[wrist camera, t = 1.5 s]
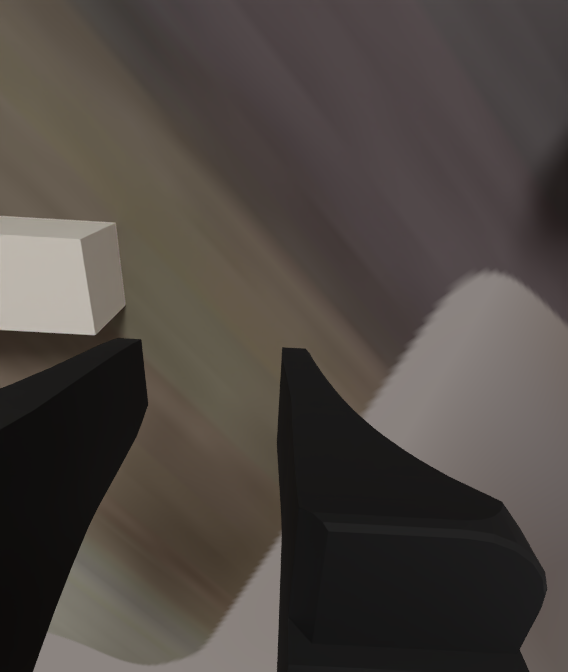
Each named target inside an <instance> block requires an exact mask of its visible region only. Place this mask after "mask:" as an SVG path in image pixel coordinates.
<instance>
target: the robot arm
mask: <svg viewBox="0 0 568 672" xmlns="http://www.w3.org/2000/svg"><path fill="white" fill-rule="evenodd" d="M147 406H148V398H147V389H146V380H145V370H144V361H143V352H142V342H141V339H124V338H117V339H114V340H111V341H108V342H106V343H103V344H101V345H99V346H96V347H94V348H92V349H90V350H88V351H85V352H83V353H81V354H79V355H77V356H75V357H73V358H70V359H68V360H66V361H64V362H62V363H60V364H58V365H55V366H53V367H51V368H49V369H46V370H44V371H42V372H39V373H37V374H35V375H32V376H30V377H28V378H25V379H23V380H21V381H18V382H16V383H13V384H11V385H8V386H6V387H3V388H1V389H0V672H33V670H34V667H35V664H36V661H37V658H38V656H39V653H40V650H41V647H42V645H43V642H44V639H45V636H46V633H47V631H48V628H49V625H50V622H51V620H52V617H53V614H54V611H55V609H56V606H57V604H58V601H59V598H60V596H61V593H62V591H63V588H64V586H65V583H66V580H67V578H68V575H69V573H70V570H71V568H72V565H73V563H74V560H75V558H76V555H77V553H78V551H79V548H80V546H81V543H82V541H83V539H84V536H85V534H86V531H87V529H88V527H89V525H90V522H91V520H92V518H93V516H94V514H95V512H96V510H97V508H98V506H99V505H100V503H101V501H102V499H103V497H104V495H105V494H106V492H107V490H108V488H109V486H110V484H111V483H112V481H113V479H114V477H115V475H116V474H117V472H118V470H119V468H120V466H121V464H122V463H123V461H124V459H125V457H126V455H127V453H128V451H129V450H130V448H131V446H132V444H133V442H134V440H135V438H136V436H137V434H138V431H139V429H140V426H141V423H142V421H143V418H144V415H145V412H146V409H147ZM277 453H278V470H279V486H280V502H281V518H282V546H281V578H280V606H279V635H278V662H277V672H529V670H528V668H527V665H526V663H525V661H524V659H523V656H522V654H521V652H520V650H519V649H520V647H521V645H522V644H523V642H524V640H525V637H526V636H527V634H528V632H529V630H530V628H531V627H532V625H533V623H534V621H535V619H536V617H537V615H538V613H539V611H540V609H541V607H542V604H543V601H544V598H545V595H546V591H547V584H546V576H545V571H544V570H543V568H542V566H541V564H540V563H539V561H538V559H537V558H536V556H535V554H534V553H533V551H532V549H531V547H530V545H529V543H528V542H527V540H526V538H525V536H524V535H523V533H522V531H521V529H520V528H519V526H518V525H517V523H516V522H515V520H514V519H513V517H512V516H511V514H510V513H509V511H508V510H507V509H506V507H505V506H504V504H503V503H502V502H501V501H499V500H497V499H495V498H493V497H491V496H489V495H487V494H485V493H482V492H480V491H478V490H476V489H474V488H472V487H470V486H468V485H466V484H463V483H461V482H459V481H457V480H455V479H453V478H451V477H449V476H447V475H445V474H443V473H442V472H440V471H438V470H436V469H434V468H433V467H431V466H429V465H428V464H426V463H424V462H422V461H420V460H419V459H417V458H416V457H414V456H413V455H411V454H409V453H408V452H406V451H405V450H403V449H402V448H400V447H399V446H398V445H396V444H395V443H393V442H392V441H390V440H389V439H388V438H386V437H385V436H383V435H382V434H381V433H380V432H378V431H377V430H376V429H374V428H373V427H372V426H371V425H369V423H367V422H366V421H365V420H364V419H363V418H362V417H360V416H359V415H358V414H357V413H356V412H355V411H354V410H353V409H352V408H351V407H350V406H349V405H348V404H347V403H346V402H345V401H344V400H343V399H342V398H341V396H340V395H339V394H338V393H337V392H336V391H335V389H334V388H333V387H332V385H331V384H330V383H329V382H328V380H327V379H326V378H325V376H324V375H323V374H322V372H321V371H320V369H319V368H318V366H317V365H316V363H315V362H314V360H313V359H312V357H311V355H310V353H309V352H308V351H307V350H306V349H301V348H283V347H282V363H281V380H280V397H279V414H278V433H277Z"/></svg>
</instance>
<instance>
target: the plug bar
mask: <svg viewBox="0 0 568 672" xmlns="http://www.w3.org/2000/svg"><path fill="white" fill-rule="evenodd" d="M125 305H126V303H125V295H124V287H123V278H122V270H121V262H120V253H119V245H118V236H117V228H116V223H112V222H95V221H78V220H61V219H44V218H27V217H10V216H0V330H11V331H29V332H47V333H65V334H83V335H96V334H97V333H98V332H99V331H100V330H101V329H102V328H103V327H104V326H105V325H106V324H107V323H108V322H109V321H110V320H111V319H112V318H113V317H114V316H115V315H116V314H117V313H118V312H119V311H120V310H121V309H122V308H123V307H124V306H125Z"/></svg>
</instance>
